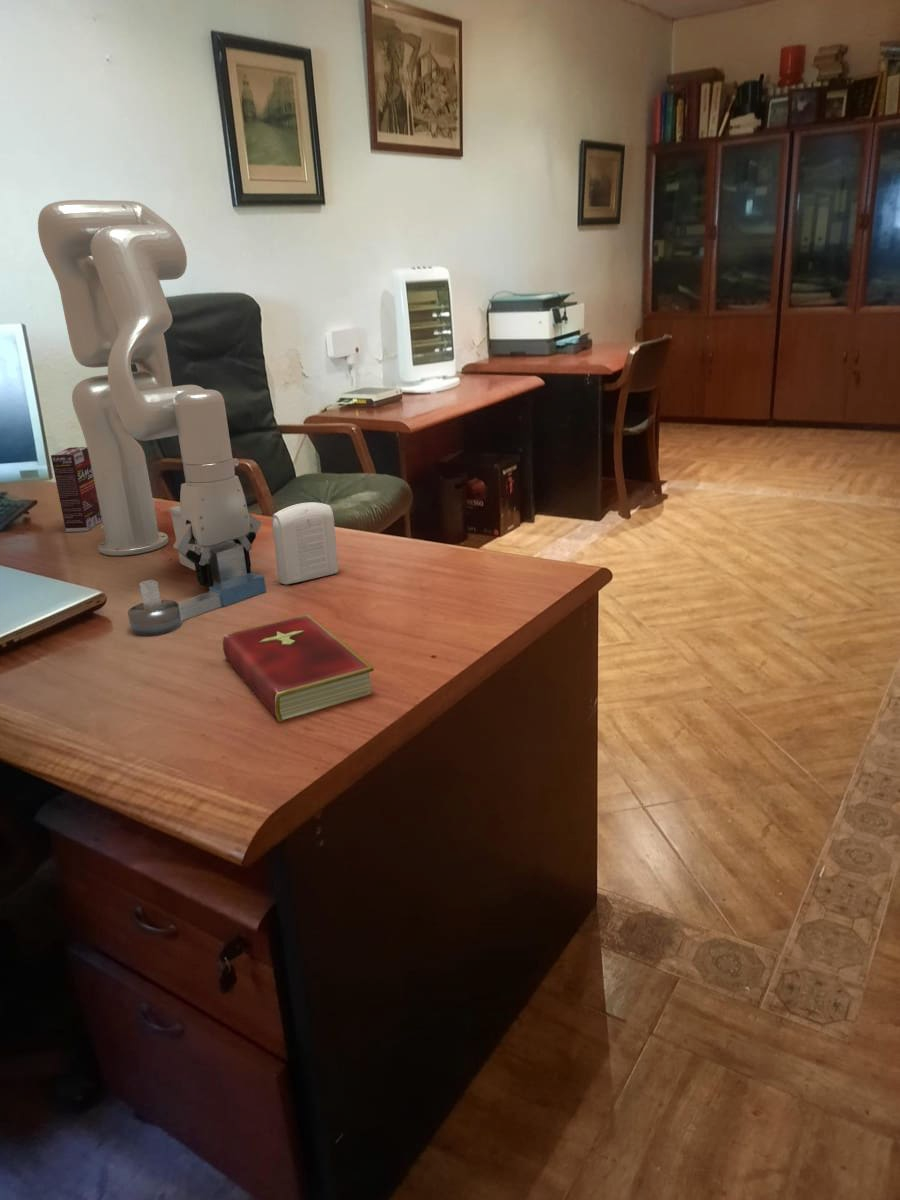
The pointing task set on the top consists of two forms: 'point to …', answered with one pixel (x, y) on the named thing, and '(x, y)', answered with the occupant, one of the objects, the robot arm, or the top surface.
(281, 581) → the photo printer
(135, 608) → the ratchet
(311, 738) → the top surface
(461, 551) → the top surface
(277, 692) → the hardcover book
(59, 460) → the supplement box
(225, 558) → the white cube
